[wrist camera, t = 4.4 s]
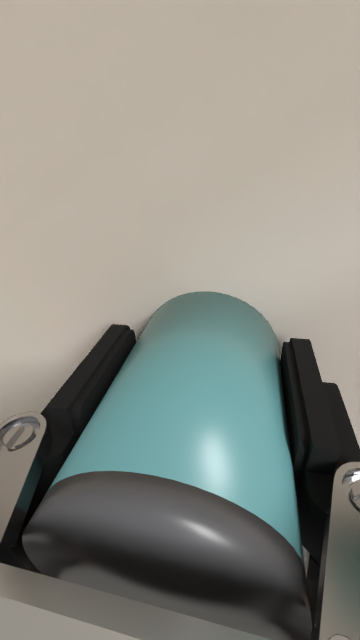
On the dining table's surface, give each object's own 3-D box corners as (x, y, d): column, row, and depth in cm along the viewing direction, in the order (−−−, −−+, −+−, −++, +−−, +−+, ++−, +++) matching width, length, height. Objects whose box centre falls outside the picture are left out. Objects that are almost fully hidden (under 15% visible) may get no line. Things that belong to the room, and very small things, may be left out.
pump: (287, 295, 9) (349, 564, 3) (265, 438, 13) (276, 694, 7) (136, 288, 10) (-23, 483, 4) (154, 421, 14) (79, 632, 8)
